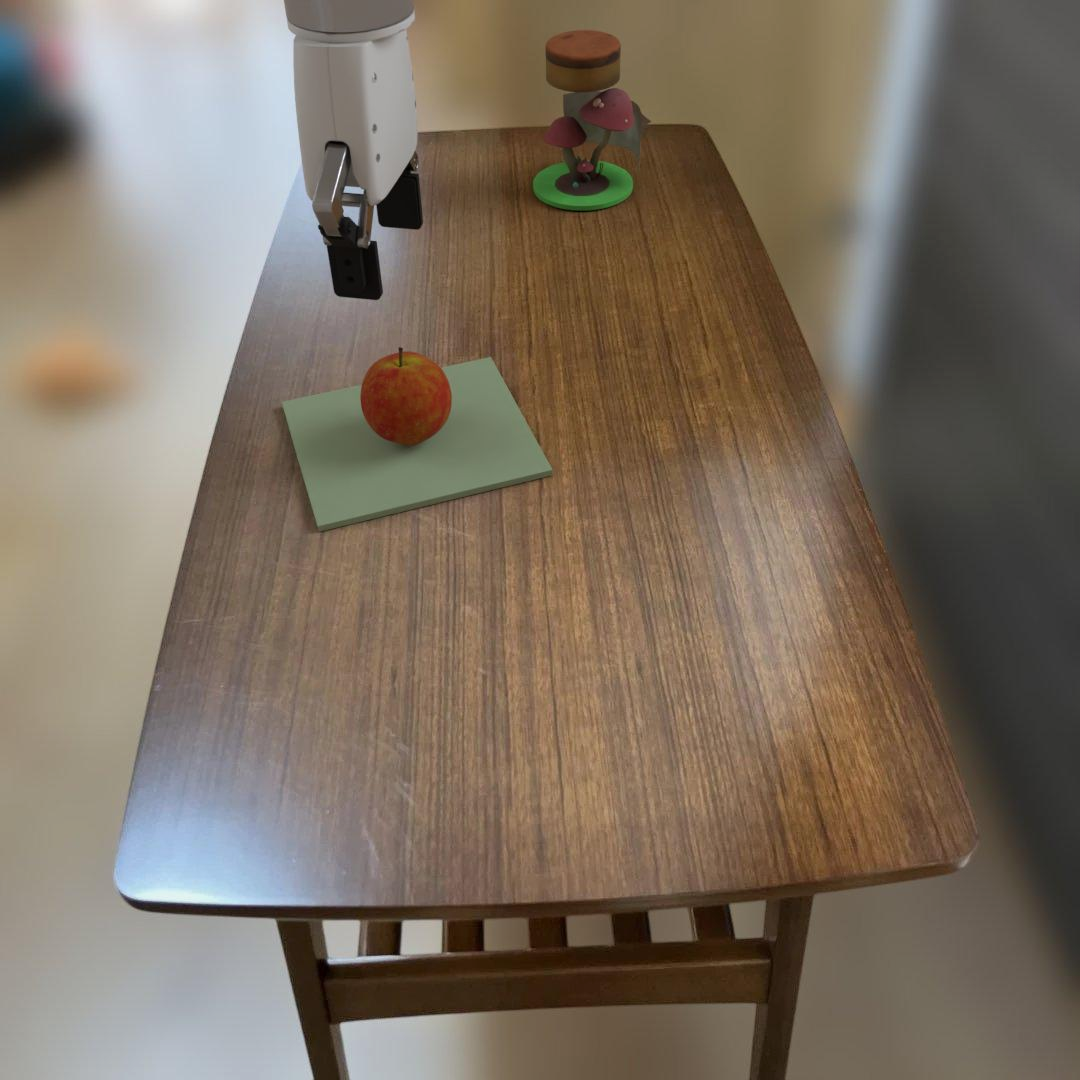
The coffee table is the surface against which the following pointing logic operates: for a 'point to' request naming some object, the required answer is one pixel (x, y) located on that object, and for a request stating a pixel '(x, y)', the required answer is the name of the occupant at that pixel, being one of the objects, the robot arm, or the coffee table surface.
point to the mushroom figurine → (588, 122)
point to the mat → (411, 450)
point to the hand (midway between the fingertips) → (381, 259)
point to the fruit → (405, 397)
